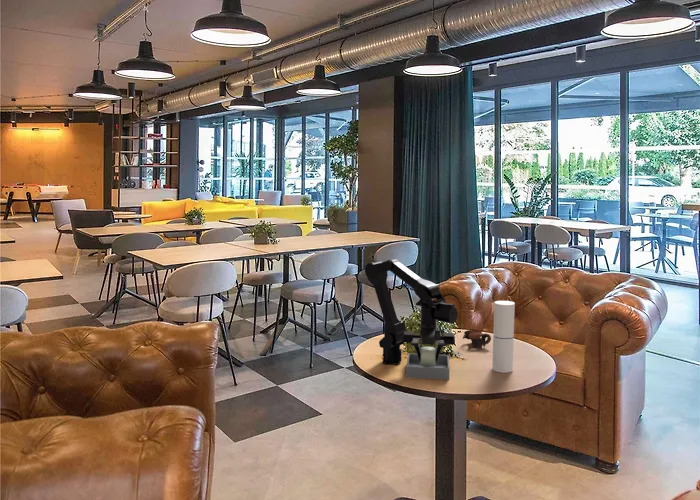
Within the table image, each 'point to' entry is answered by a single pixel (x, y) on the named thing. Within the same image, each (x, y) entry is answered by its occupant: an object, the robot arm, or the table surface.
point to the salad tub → (428, 357)
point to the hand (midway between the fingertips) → (428, 360)
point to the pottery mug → (476, 339)
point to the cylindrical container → (503, 336)
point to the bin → (427, 368)
